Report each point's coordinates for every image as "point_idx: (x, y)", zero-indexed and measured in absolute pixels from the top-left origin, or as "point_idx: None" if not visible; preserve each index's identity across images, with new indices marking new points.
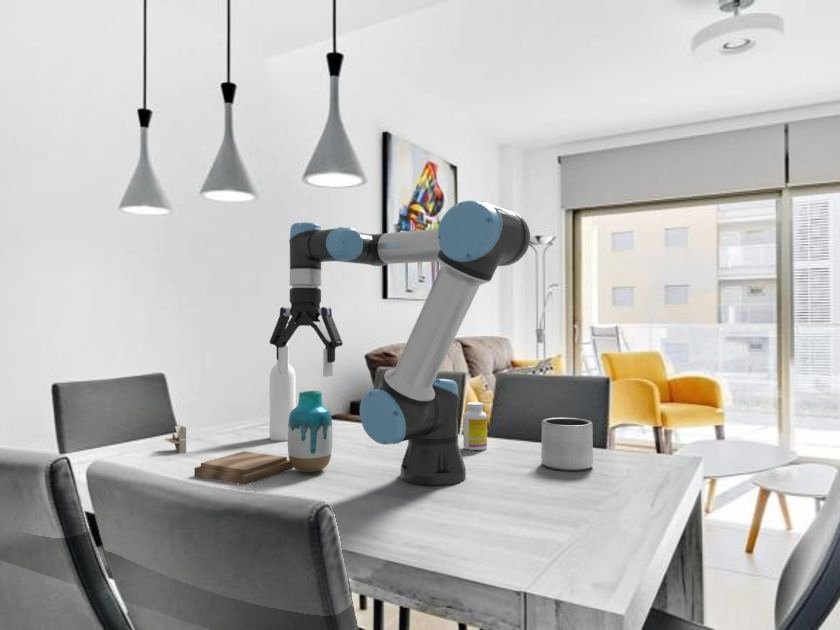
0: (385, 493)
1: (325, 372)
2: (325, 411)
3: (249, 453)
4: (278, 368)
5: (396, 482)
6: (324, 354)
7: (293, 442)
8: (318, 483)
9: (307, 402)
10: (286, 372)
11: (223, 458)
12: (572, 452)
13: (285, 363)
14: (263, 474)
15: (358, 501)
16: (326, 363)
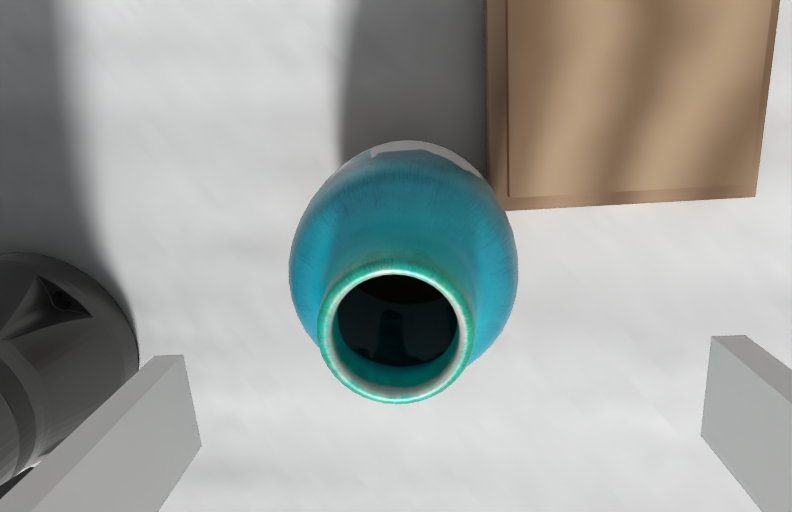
0: (26, 127)
1: (138, 376)
2: (295, 296)
3: (698, 166)
4: (778, 360)
5: (86, 245)
6: (12, 508)
7: (416, 142)
8: (276, 104)
9: (361, 245)
10: (706, 420)
11: (744, 37)
12: None
13: (767, 471)
14: (486, 38)
15: (25, 7)
16: (77, 438)
